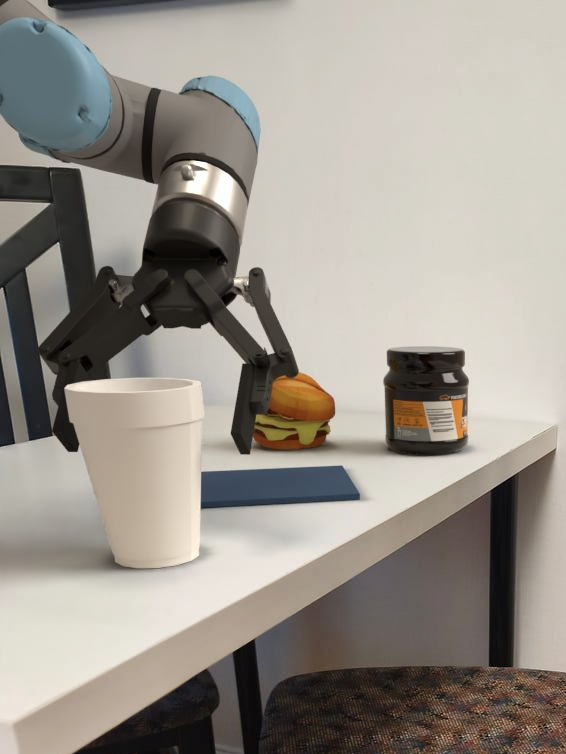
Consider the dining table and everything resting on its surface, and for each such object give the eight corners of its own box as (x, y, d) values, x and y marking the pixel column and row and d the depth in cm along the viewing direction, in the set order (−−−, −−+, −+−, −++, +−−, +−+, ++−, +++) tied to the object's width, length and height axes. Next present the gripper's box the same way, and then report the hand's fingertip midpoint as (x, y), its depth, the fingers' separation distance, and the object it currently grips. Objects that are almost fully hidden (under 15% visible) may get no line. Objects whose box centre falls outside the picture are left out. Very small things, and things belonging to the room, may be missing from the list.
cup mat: (145, 511, 83) (144, 504, 82) (155, 479, 95) (154, 473, 95) (360, 499, 87) (359, 493, 87) (342, 470, 100) (342, 465, 100)
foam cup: (132, 536, 75) (109, 376, 70) (237, 542, 73) (221, 379, 68) (68, 571, 66) (37, 391, 61) (187, 578, 65) (164, 394, 60)
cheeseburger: (290, 433, 121) (298, 360, 116) (347, 461, 117) (358, 386, 112) (231, 442, 113) (238, 364, 108) (290, 473, 109) (299, 393, 104)
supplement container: (449, 459, 106) (449, 354, 102) (370, 452, 110) (367, 350, 105) (480, 444, 116) (481, 347, 111) (406, 438, 119) (404, 344, 114)
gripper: (31, 196, 73) (-36, 410, 65) (333, 197, 72) (304, 414, 64) (72, 267, 80) (17, 468, 72) (348, 268, 79) (323, 472, 71)
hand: (152, 443), depth 68 cm, fingers open, 13 cm apart
